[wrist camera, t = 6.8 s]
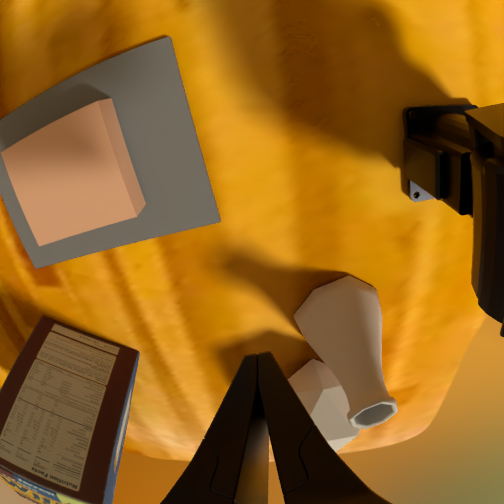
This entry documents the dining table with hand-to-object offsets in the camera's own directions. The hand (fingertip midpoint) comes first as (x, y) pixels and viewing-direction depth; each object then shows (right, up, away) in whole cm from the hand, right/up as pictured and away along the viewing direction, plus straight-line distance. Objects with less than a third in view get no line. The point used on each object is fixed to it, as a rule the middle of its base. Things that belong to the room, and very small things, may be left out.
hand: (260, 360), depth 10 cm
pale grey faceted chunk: (+6, -9, +19) cm, 22 cm away
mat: (-11, +9, +8) cm, 17 cm away
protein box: (-18, -10, +19) cm, 28 cm away
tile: (-8, +9, +6) cm, 13 cm away
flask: (+7, -1, +15) cm, 17 cm away
